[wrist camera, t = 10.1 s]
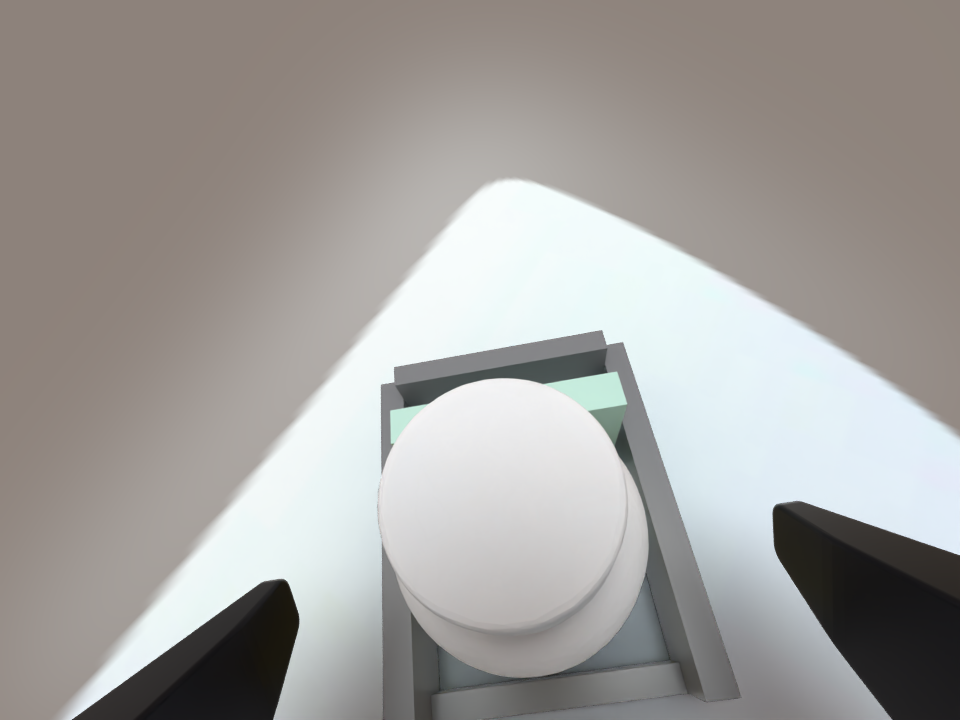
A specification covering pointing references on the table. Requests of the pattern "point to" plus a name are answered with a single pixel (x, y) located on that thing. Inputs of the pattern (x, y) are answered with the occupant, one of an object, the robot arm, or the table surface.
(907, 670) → the robot arm
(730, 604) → the table surface
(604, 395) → the plate
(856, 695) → the table surface
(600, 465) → the supplement bottle
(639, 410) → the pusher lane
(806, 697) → the table surface
